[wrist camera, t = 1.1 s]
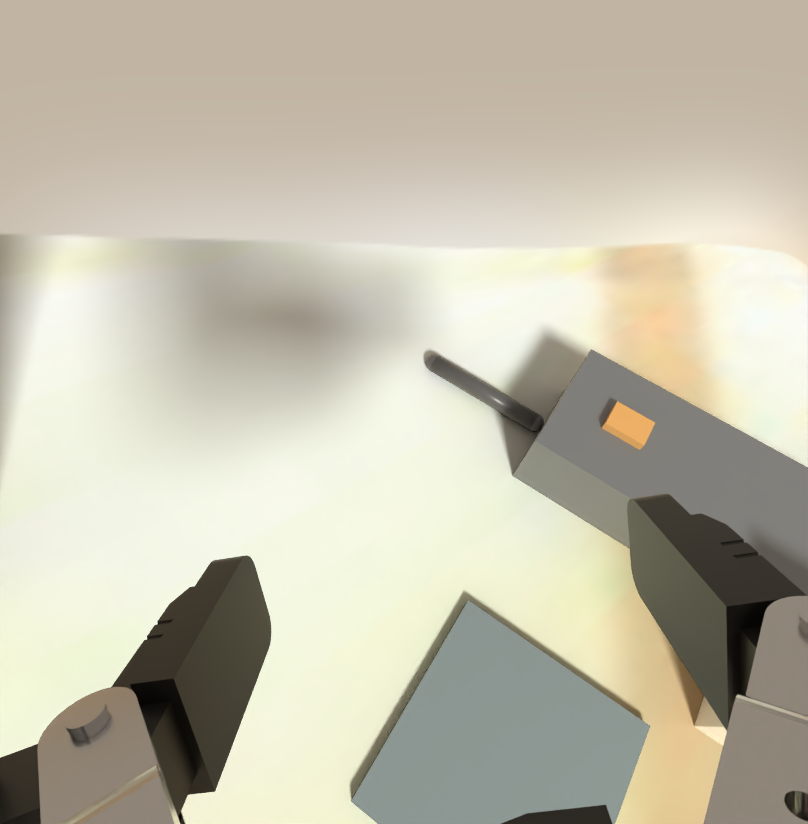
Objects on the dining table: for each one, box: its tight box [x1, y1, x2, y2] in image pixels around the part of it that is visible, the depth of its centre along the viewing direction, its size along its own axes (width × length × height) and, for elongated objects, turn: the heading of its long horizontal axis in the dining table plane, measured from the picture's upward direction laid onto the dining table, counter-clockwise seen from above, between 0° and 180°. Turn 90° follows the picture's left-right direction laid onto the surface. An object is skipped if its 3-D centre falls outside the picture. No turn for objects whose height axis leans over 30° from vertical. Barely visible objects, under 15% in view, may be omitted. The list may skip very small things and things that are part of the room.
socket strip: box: [426, 350, 808, 596], centre depth 33 cm, size 29×8×6 cm, turn 56°
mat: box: [351, 600, 650, 824], centre depth 27 cm, size 11×11×1 cm
